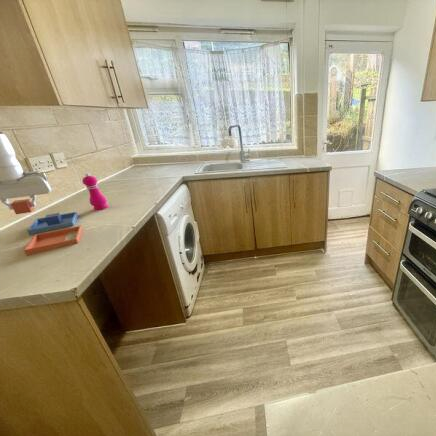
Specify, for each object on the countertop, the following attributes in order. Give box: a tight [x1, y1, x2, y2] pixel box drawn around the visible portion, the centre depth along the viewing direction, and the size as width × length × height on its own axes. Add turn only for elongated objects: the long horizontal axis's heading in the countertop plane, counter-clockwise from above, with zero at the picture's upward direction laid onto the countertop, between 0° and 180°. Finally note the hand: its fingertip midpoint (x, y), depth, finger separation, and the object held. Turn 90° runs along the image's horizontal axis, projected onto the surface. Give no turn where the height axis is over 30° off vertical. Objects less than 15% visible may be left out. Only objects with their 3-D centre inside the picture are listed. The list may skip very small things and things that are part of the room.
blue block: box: [45, 212, 63, 226], centre depth 114 cm, size 4×4×4 cm
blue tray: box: [26, 211, 79, 236], centre depth 115 cm, size 15×15×2 cm
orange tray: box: [23, 225, 83, 257], centre depth 99 cm, size 15×15×2 cm
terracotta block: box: [10, 198, 35, 215], centre depth 98 cm, size 4×4×4 cm
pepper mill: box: [82, 172, 109, 211], centre depth 130 cm, size 7×7×20 cm
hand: (23, 207), depth 98 cm, fingers closed on terracotta block, 4 cm apart
